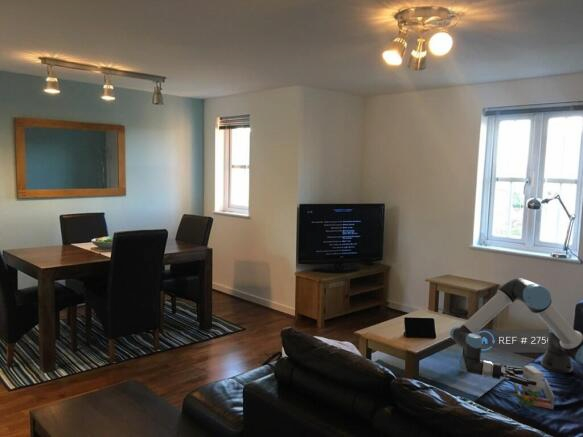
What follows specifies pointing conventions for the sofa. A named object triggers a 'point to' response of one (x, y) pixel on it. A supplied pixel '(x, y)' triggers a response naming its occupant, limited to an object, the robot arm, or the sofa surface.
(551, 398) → the trap channel
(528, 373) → the ink box
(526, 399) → the figurine
